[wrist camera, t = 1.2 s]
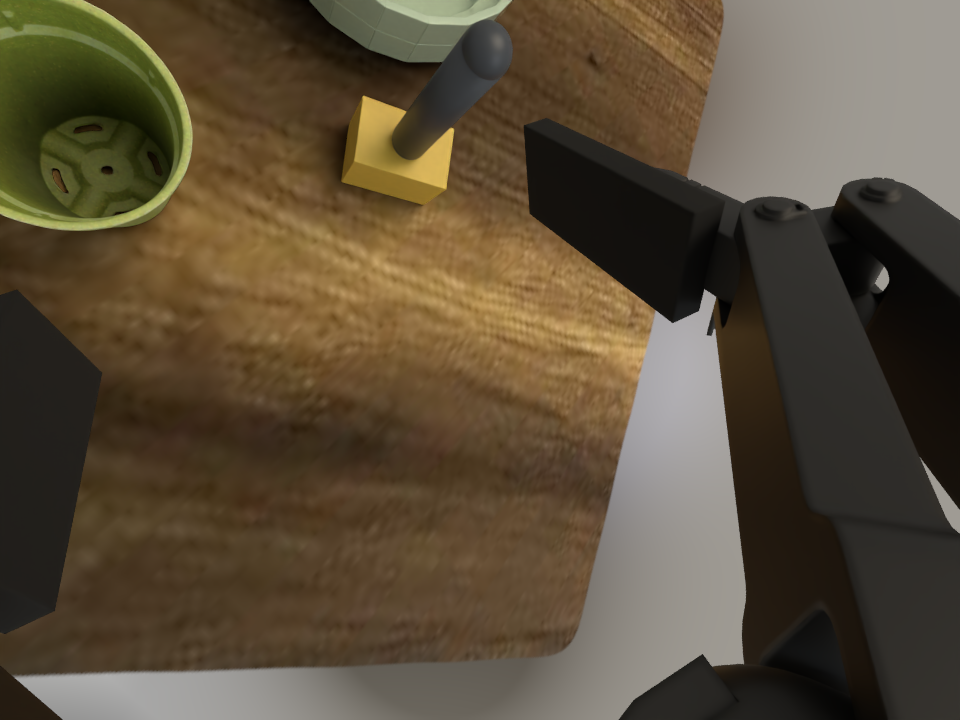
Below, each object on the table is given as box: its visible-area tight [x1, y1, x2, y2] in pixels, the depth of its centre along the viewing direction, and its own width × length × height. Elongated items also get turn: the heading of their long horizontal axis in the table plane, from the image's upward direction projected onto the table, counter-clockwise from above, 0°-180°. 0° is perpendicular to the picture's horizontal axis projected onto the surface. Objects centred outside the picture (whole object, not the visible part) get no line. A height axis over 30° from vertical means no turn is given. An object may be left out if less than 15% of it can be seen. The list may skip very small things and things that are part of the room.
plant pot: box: [0, 0, 192, 231], centre depth 23 cm, size 9×9×9 cm
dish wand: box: [341, 20, 513, 205], centre depth 26 cm, size 6×4×17 cm, turn 82°
